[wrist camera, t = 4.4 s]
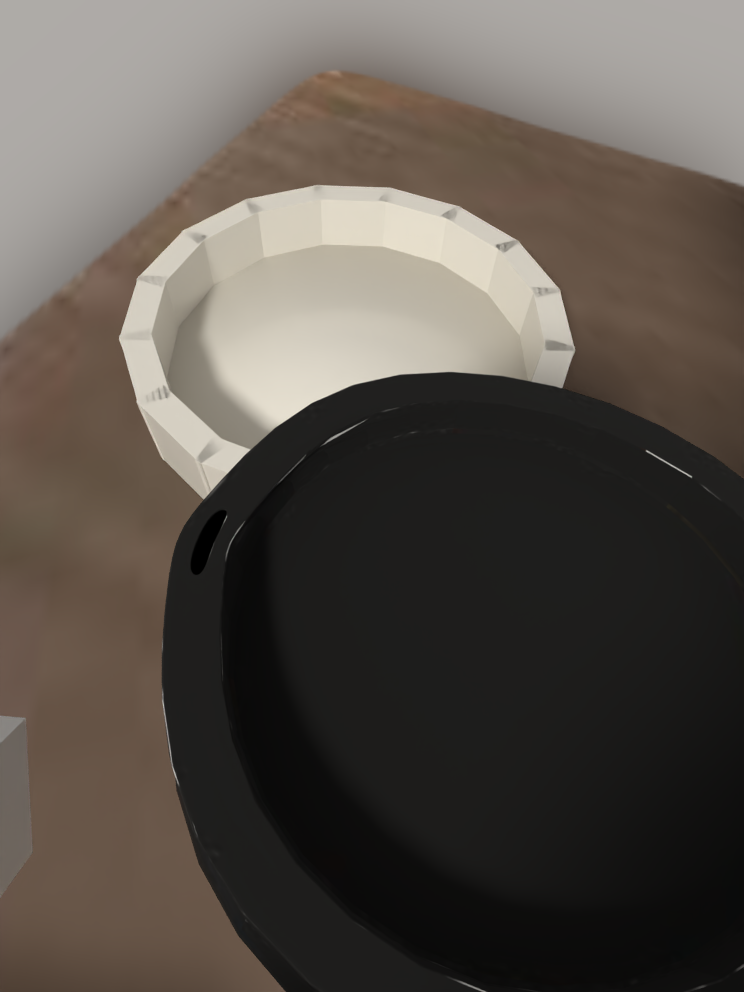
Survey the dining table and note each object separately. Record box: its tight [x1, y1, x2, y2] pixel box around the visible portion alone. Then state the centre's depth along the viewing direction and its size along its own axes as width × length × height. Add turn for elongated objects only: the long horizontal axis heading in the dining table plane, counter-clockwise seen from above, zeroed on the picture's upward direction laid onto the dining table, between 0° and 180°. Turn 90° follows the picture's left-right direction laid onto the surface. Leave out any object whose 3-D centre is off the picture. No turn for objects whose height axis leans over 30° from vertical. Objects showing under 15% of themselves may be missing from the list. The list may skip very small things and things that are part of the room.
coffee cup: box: [162, 372, 744, 992], centre depth 12 cm, size 8×8×15 cm
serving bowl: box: [119, 185, 575, 499], centre depth 27 cm, size 18×18×4 cm
